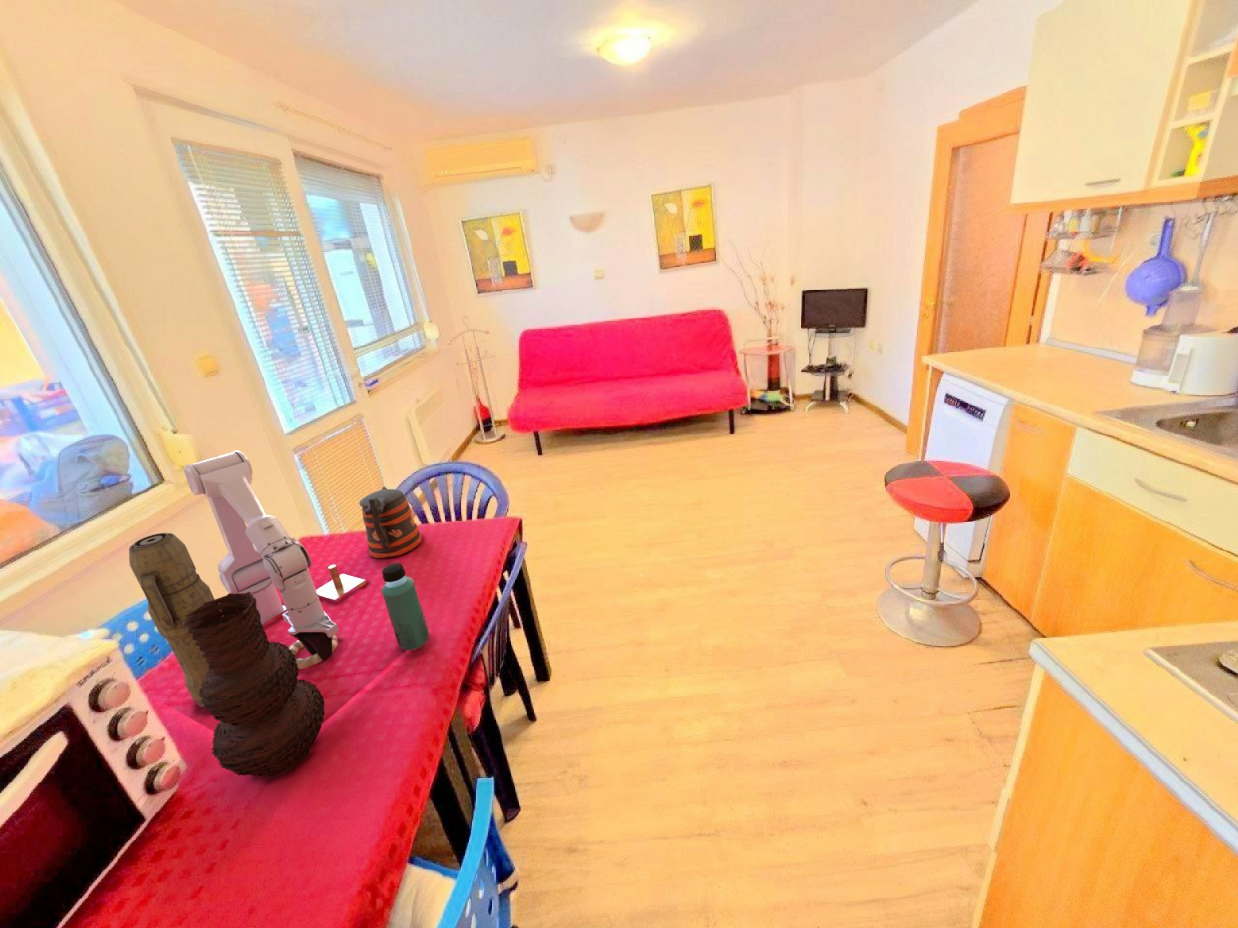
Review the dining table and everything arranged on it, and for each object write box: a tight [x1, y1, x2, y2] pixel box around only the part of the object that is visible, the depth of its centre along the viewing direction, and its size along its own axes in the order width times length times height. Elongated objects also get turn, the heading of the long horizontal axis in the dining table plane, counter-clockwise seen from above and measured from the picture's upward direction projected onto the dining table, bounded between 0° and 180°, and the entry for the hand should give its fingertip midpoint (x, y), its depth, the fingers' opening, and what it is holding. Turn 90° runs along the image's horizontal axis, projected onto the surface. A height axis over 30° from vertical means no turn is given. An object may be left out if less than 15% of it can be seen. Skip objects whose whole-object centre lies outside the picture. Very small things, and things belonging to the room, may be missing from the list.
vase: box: [180, 592, 326, 780], centre depth 80 cm, size 15×15×30 cm
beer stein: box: [359, 486, 422, 559], centre depth 144 cm, size 19×15×20 cm
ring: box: [288, 634, 339, 670], centre depth 108 cm, size 10×10×2 cm
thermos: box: [128, 532, 216, 708], centre depth 93 cm, size 9×12×35 cm
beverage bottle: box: [381, 562, 430, 652], centre depth 104 cm, size 6×7×20 cm
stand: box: [316, 564, 368, 601], centre depth 129 cm, size 9×9×7 cm
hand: (322, 654), depth 106 cm, fingers closed on ring, 2 cm apart
